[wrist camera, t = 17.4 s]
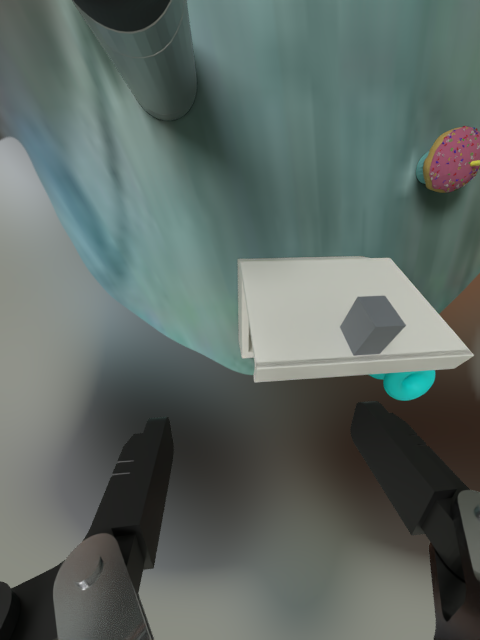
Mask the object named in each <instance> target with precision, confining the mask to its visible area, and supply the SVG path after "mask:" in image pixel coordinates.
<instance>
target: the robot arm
mask: <svg viewBox="0 0 480 640" xmlns="http://www.w3.org/2000/svg"><path fill="white" fill-rule="evenodd" d="M72 1H73V3H74V4H75V6H76V7H77V9H78V11H79V12H80V14H81V15H82V17H83V18H84V20H85V21H86V23H87V24H88V26H89V27H90V29H91V30H92V32H93V33H94V35H95V36H96V38H97V39H98V41H99V42H100V44H101V46H102V47H103V49H104V50H105V52H106V53H107V55H108V56H109V58H110V59H111V61H112V62H113V64H114V65H115V67H116V69H117V70H118V72H119V73H120V75H121V76H122V78H123V79H124V81H125V82H126V84H127V86H128V87H129V89H130V90H131V92H132V93H133V95H134V96H135V98H136V99H137V101H138V102H139V104H140V105H141V106H142V107H143V108H144V109H145V110H146V111H147V112H148V113H149V114H151V115H152V116H153V117H156V118H158V119H160V120H166V121H170V120H176V119H178V118H181V117H182V116H183V115H185V114H186V113H187V112H188V110H189V109H190V108H191V106H192V104H193V102H194V100H195V96H196V91H197V75H196V67H195V59H194V51H193V44H192V37H191V29H190V22H189V14H188V7H187V0H72ZM351 436H352V439H353V442H354V444H355V445H356V447H357V448H358V450H359V452H360V453H361V455H362V456H363V458H364V460H365V461H366V463H367V464H368V466H369V468H370V469H371V471H372V473H373V474H374V475H375V477H376V479H377V481H378V482H379V484H380V485H381V487H382V489H383V490H384V491H385V493H386V495H387V497H388V498H389V500H390V501H391V503H392V504H393V506H394V508H395V509H396V511H397V512H398V514H399V516H400V517H401V519H402V521H403V522H404V524H405V526H406V527H407V528H408V530H409V532H410V534H411V535H417V534H426V536H427V537H428V539H429V540H430V543H429V557H430V567H431V577H432V587H433V597H434V606H435V617H436V629H435V635H434V640H480V492H477V491H473V490H470V489H469V488H468V487H467V486H466V485H465V484H464V483H463V482H462V481H461V480H460V479H459V478H458V477H457V476H456V475H455V474H454V473H453V471H452V470H451V469H450V468H449V467H448V466H447V465H446V464H445V463H444V462H443V461H442V460H441V459H440V458H439V457H438V456H437V455H436V454H435V452H434V451H433V450H432V449H431V448H430V447H429V446H427V445H426V443H425V442H424V441H423V440H422V439H421V438H420V437H419V436H417V433H416V432H415V431H414V430H413V429H412V428H411V427H410V426H409V425H408V424H407V423H406V422H405V421H403V420H402V419H400V418H399V417H398V416H396V415H394V414H393V413H389V412H388V411H387V410H386V409H385V408H384V407H383V406H382V405H381V404H380V403H379V402H377V401H370V402H359V403H357V405H356V408H355V413H354V417H353V420H352V424H351ZM173 455H174V443H173V437H172V431H171V425H170V420H169V417H161V418H149V419H148V421H147V424H146V427H145V430H144V433H140V434H134V435H133V436H132V437H131V438H130V440H129V441H128V442H127V443H126V444H125V446H124V447H123V449H122V452H121V454H120V456H119V459H118V463H117V464H116V466H115V469H114V471H113V475H112V477H111V478H110V481H109V483H108V486H107V488H106V491H105V493H104V496H103V498H102V501H101V503H100V505H99V508H98V510H97V513H96V515H95V518H94V520H93V523H92V525H91V527H90V530H89V532H88V533H87V535H86V537H85V539H84V540H83V541H82V542H81V543H80V544H79V545H78V546H77V547H76V548H75V549H74V550H73V551H72V552H71V553H70V554H69V555H68V557H67V558H66V559H65V560H64V561H63V562H62V563H60V564H59V565H57V566H56V567H54V568H52V569H50V570H48V571H46V572H44V573H42V574H40V575H39V576H36V577H34V578H32V579H30V580H28V581H26V582H24V583H22V584H20V585H18V586H16V587H14V588H12V589H11V588H10V587H9V586H8V584H6V583H4V582H0V640H154V637H153V635H152V631H151V629H150V626H149V623H148V620H147V617H146V614H145V611H144V608H143V605H142V603H141V600H140V597H139V594H138V592H139V586H140V582H141V577H142V572H143V570H144V569H152V568H154V563H155V558H156V552H157V546H158V541H159V535H160V529H161V523H162V519H163V512H164V507H165V502H166V496H167V491H168V485H169V479H170V474H171V468H172V463H173Z"/></svg>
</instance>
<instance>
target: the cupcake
mask: <svg viewBox="0 0 480 640" xmlns="http://www.w3.org/2000/svg"><path fill="white" fill-rule="evenodd" d="M479 169H480V133H479V132H478V131H477V129H475V128H471V127H468V126H463V127H460V128H455V129H452V130H450V131H447V132H445V133H444V134H442V135H441V136H439V137H438V139H437V140H436V141H435V142H434V144H433V146H432V147H431V149H430V151H429V152H427V153H426V154H425V155H424V156H423V157H422V158H421V159H420V161H419V162H418V165H417V168H416V176H417V179H418V180H419V181H420V182H421V183H424V184H426V187H427V188H428V189H430V190H433V191H435V192H440V193H445V192H452V191H455V190H457V189H459V188H461V187H464V186H465V184H467V183H468V182H470V180H471V179H474V175H475V176H476V174H477V171H479Z"/></svg>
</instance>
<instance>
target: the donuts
mask: <svg viewBox="0 0 480 640" xmlns="http://www.w3.org/2000/svg"><path fill="white" fill-rule="evenodd" d="M369 375H370V376H371V377H373V378H376V379H384V381H383V383H384V384H383V385H384V389H385V391H386V392H387V393H388V394H389V396H391V397H393V398H395V399H397V400H403V401H406V400H412V399H415V398H417V397H420V396H421V395H423V394H424V393H426V392H427V391H428V390H429V389H430V387H431V386H432V384H433V382H434V379H435V370H426V371H412V372H398V373H383V374H369Z"/></svg>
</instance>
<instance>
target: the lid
mask: <svg viewBox="0 0 480 640" xmlns="http://www.w3.org/2000/svg"><path fill="white" fill-rule="evenodd" d="M240 267H241V274H242V280H243V287H244V294H245V301H246V307H247V314H248V321H249V328H250V334H251V341H252V348H253V355H254V361H255V371H254V382H267V381H282V380H296V379H310V378H323V377H324V378H325V377H340V376H354V375H369V374H383V373H398V372H412V371H426V370H441V369H454V368H456V367H457V366H459V365H460V364H462V363H463V362H465V361H466V360H468V359H470V358H471V357H473V356H474V355H473V353H472V352H471V351H470V350H469V349H468V348H467V346H466V345H465V344H464V343H463V342H462V341H461V339H460V338H459V337H458V336H457V335H456V334H455V333H454V331H453V330H452V329H451V328H450V327H449V326H448V325H447V323H446V322H445V321H444V320H443V319H442V318H441V316H440V315H439V314H438V313H437V312H436V311H435V309H434V308H433V307H432V306H431V305H430V304H429V302H428V301H427V300H426V299H425V298H424V297H423V295H422V294H421V293H420V292H419V291H418V290H417V289H416V287H415V286H414V285H413V284H412V283H411V282H410V280H409V279H408V278H407V277H406V276H405V275H404V273H403V272H402V271H401V270H400V269H399V268H398V267H397V265H396V264H395V263H394V262H393V261H392V260H391V258H366V259H325V260H283V261H241V262H240Z"/></svg>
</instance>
